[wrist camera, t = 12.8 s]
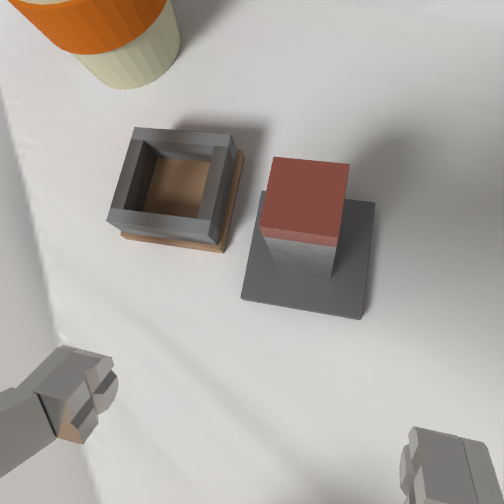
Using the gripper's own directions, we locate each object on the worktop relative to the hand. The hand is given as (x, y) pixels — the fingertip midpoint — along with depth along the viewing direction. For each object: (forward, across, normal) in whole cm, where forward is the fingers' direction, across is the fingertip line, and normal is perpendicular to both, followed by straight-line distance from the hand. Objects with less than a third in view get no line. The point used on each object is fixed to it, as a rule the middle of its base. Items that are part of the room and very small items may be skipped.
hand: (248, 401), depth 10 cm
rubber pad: (+16, 0, +5) cm, 17 cm away
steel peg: (+16, 0, +4) cm, 16 cm away
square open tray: (+18, +10, +2) cm, 21 cm away
